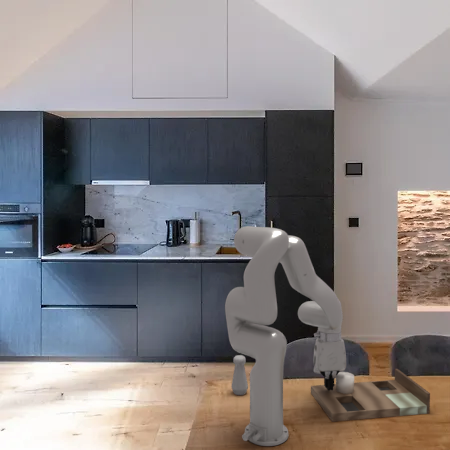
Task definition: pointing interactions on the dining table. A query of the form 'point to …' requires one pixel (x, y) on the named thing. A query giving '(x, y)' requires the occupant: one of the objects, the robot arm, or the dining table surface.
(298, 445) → the dining table surface
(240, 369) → the salt shaker
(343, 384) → the white cup
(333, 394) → the board
